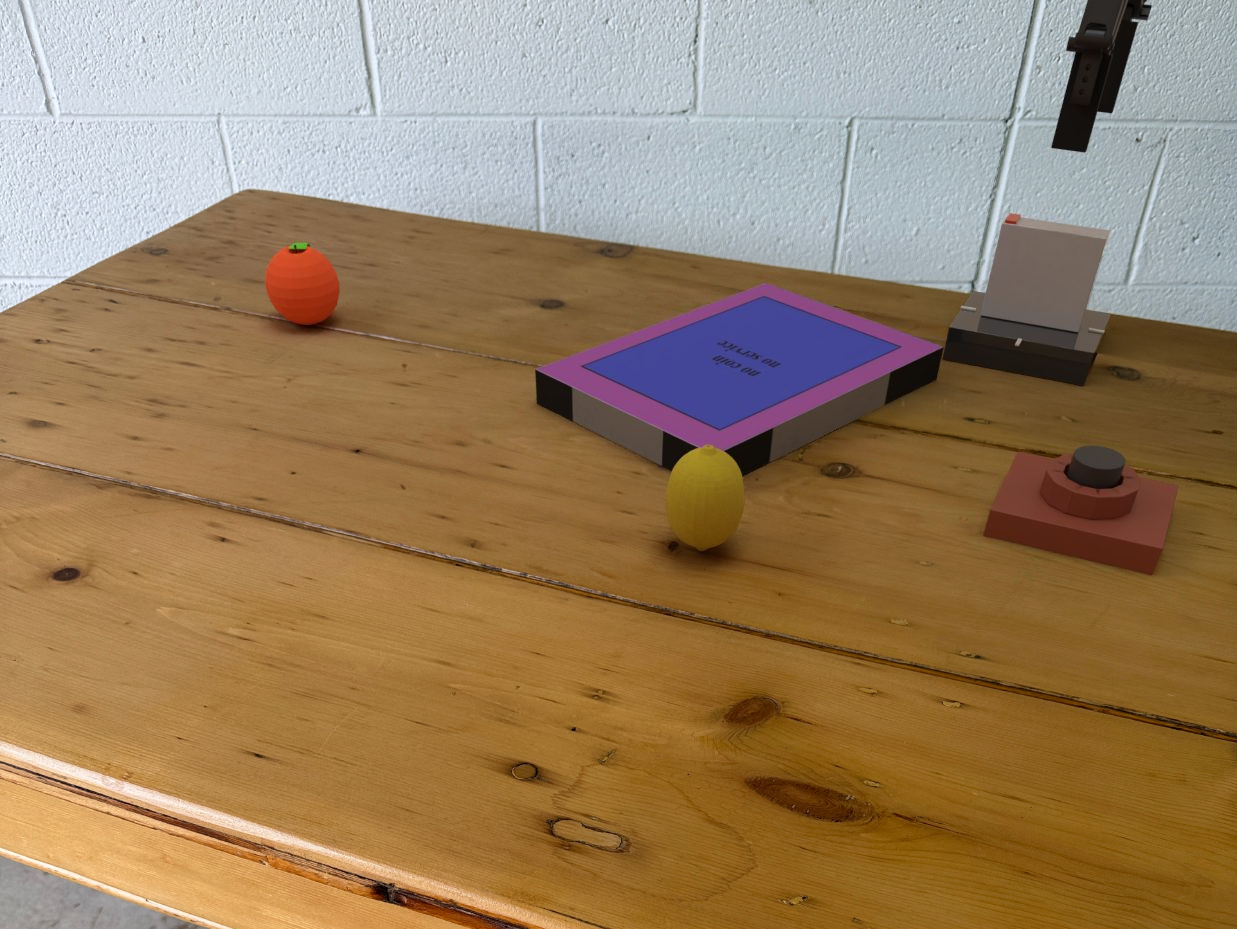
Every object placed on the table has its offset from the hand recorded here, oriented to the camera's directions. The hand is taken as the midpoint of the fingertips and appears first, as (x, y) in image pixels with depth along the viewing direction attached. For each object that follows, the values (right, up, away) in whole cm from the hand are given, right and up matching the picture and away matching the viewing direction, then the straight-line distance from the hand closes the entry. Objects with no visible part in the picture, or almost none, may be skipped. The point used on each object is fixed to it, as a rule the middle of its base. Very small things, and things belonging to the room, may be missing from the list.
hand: (1083, 129), depth 94 cm
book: (-28, -20, +6) cm, 35 cm away
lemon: (-33, -39, -13) cm, 53 cm away
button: (-5, -34, -13) cm, 36 cm away
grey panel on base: (-1, -12, +10) cm, 15 cm away
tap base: (-1, -14, +12) cm, 18 cm away
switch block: (-5, -36, -10) cm, 38 cm away
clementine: (-70, -9, +16) cm, 72 cm away
